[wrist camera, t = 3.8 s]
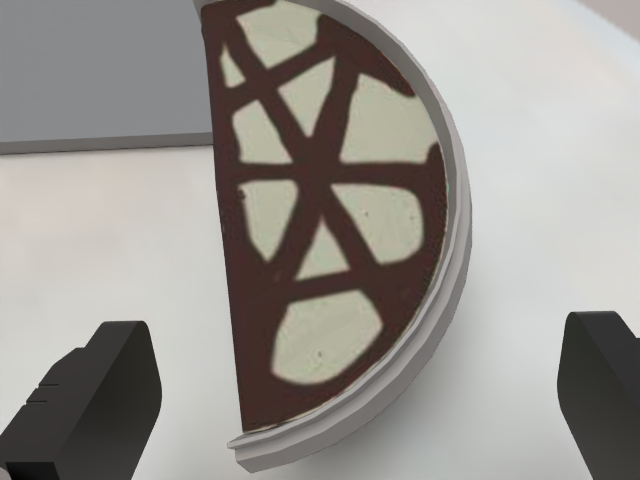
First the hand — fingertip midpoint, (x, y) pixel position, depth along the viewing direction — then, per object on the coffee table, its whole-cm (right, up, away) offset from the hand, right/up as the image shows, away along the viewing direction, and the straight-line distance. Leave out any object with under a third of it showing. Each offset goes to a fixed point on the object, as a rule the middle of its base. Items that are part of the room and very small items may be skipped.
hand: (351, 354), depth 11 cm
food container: (+1, +1, +11) cm, 11 cm away
